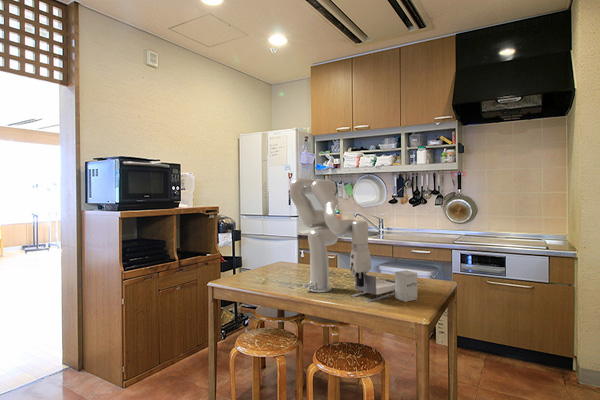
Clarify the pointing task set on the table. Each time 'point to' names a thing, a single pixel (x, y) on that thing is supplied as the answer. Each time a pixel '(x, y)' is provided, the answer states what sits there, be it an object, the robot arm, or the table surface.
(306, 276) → the table surface
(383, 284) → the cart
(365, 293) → the rail track
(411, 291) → the supplement box
